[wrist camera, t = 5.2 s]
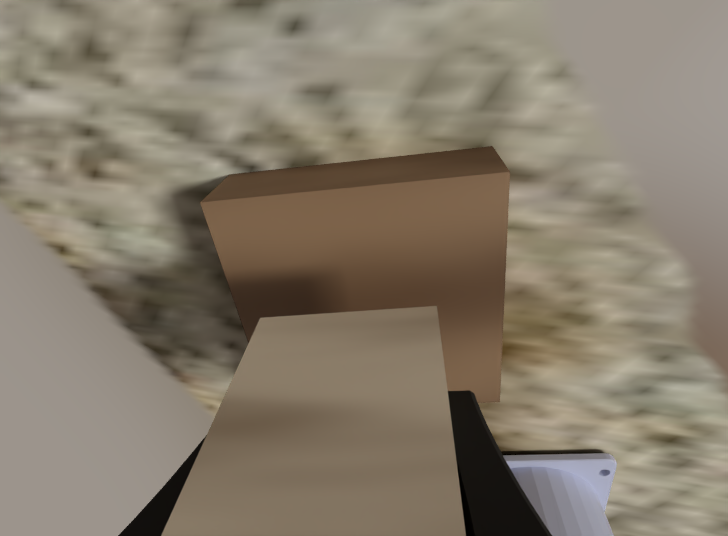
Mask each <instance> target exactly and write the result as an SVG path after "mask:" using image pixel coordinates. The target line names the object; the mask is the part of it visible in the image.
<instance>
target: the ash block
mask: <svg viewBox="0 0 728 536" xmlns="http://www.w3.org/2000/svg"><path fill="white" fill-rule="evenodd" d="M161 536H466V532H465V525H464V517H463V509H462V501H461V493H460V485H459V477H458V469H457V461H456V453H455V445H454V438H453V430H452V422H451V414H450V406H449V398H448V390H447V382H446V374H445V366H444V359H443V351H442V343H441V335H440V327H439V319H438V311H437V306H427V307H413V308H398V309H383V310H368V311H353V312H339V313H324V314H309V315H294V316H280V317H265V318H260V319H259V322H258V324H257V326H256V328H255V330H254V333H253V335H252V337H251V339H250V341H249V344H248V346H247V348H246V350H245V352H244V355H243V357H242V359H241V361H240V363H239V366H238V368H237V370H236V372H235V374H234V377H233V379H232V381H231V383H230V385H229V388H228V390H227V392H226V394H225V396H224V399H223V401H222V403H221V405H220V407H219V410H218V412H217V414H216V416H215V418H214V421H213V423H212V425H211V427H210V429H209V432H208V434H207V436H206V438H205V440H204V443H203V445H202V447H201V449H200V451H199V454H198V456H197V458H196V460H195V462H194V465H193V467H192V469H191V471H190V473H189V476H188V478H187V480H186V482H185V484H184V487H183V489H182V491H181V493H180V495H179V498H178V500H177V502H176V504H175V506H174V509H173V511H172V513H171V515H170V517H169V520H168V522H167V524H166V526H165V528H164V531H163V533H162V535H161Z"/></svg>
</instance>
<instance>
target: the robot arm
mask: <svg viewBox="0 0 728 536" xmlns="http://www.w3.org/2000/svg"><path fill="white" fill-rule="evenodd" d="M448 398H449V406H450V414H451V422H452V430H453V438H454V445H455V453H456V461H457V469H458V477H459V485H460V493H461V501H462V509H463V517H464V525H465V532H466V536H614V535H613V532H612V530H611V527H610V525H609V523H608V520H607V518H606V515H605V513H604V512H605V508H606V505H607V501H608V497H609V493H610V489H611V485H612V482H613V478H614V474H615V470H616V466H617V463H616V461H615V459H614V457H613V456H612V455H610V454H607V453H589V454H542V455H502V453H501V451H500V449H499V448H498V446H497V444H496V442H495V440H494V438H493V436H492V434H491V432H490V430H489V428H488V426H487V424H486V421H485V419H484V417H483V415H482V412H481V410H480V407H479V405H478V402H477V400H476V397H475V394H474V393H473V392H471V391H470V390H465V391H448ZM206 436H207V435H206ZM205 438H206V437H205ZM205 438H204V439H203V440H202V441H201V443H200V444H199V445H198V446H197V448H196V449H195V450H194V451H193V452H192V454H191V455H190V456H189V457H188V458H187V460H186V461H185V462H184V463H183V464H182V465H181V467H180V468H179V469H178V470H177V472H176V473H175V474H174V475H173V476H172V477H171V479H170V480H169V481H168V482H167V483H166V484H165V486H164V487H163V488H162V489H161V490H160V491H159V492H158V493H157V494H156V496H155V497H154V498H153V499H152V500H151V501H150V502H149V503H148V504H147V506H146V507H145V508H144V509H143V510H142V511H141V512H140V513H139V514H138V515H137V517H136V518H135V519H134V520H133V521H132V522H131V523H130V524H129V525H128V526H127V527H126V528H125V529H124V530H123V531H122V532H121V534H120V535H118V536H161V535H162V533H163V531H164V528H165V526H166V524H167V522H168V520H169V517H170V515H171V513H172V511H173V509H174V506H175V504H176V502H177V500H178V498H179V495H180V493H181V491H182V489H183V487H184V484H185V482H186V480H187V478H188V476H189V473H190V471H191V469H192V467H193V465H194V462H195V460H196V458H197V456H198V454H199V451H200V449H201V447H202V445H203V443H204V440H205Z"/></svg>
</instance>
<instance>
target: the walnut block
mask: <svg viewBox="0 0 728 536" xmlns="http://www.w3.org/2000/svg"><path fill="white" fill-rule="evenodd" d="M509 181H510V171H509V170H508V168H507V167H506V165H505V164H504V162H503V161H502V160H501V158H500V157H499V155H498V154H497V152H496V151H495V149H494V148H493V146H490V147H481V148H472V149H462V150H453V151H444V152H434V153H425V154H416V155H407V156H397V157H388V158H379V159H369V160H360V161H351V162H341V163H332V164H323V165H314V166H304V167H295V168H286V169H276V170H267V171H258V172H249V173H239V174H230V175H229V176H228V177H226V178H225V179H224V180H223V181H222V182H221V183H220V184H219V185H218V186H217V187H216V188H215V189H214V190H213V191H212V192H211V193H209V194H208V195H207V196H206V197H205V198H204V199H203V200H202V201H201V202H200V204H201V207H202V210H203V213H204V215H205V218H206V221H207V224H208V227H209V230H210V233H211V236H212V239H213V242H214V244H215V247H216V250H217V253H218V256H219V259H220V262H221V265H222V268H223V270H224V273H225V276H226V279H227V282H228V285H229V288H230V291H231V294H232V297H233V299H234V302H235V305H236V308H237V311H238V314H239V317H240V320H241V323H242V325H243V328H244V331H245V334H246V337H247V340H248V343H249V341H250V339H251V337H252V335H253V333H254V330H255V328H256V326H257V324H258V322H259V319H260V318H265V317H280V316H294V315H309V314H324V313H339V312H353V311H368V310H383V309H398V308H413V307H427V306H437V311H438V319H439V327H440V335H441V343H442V351H443V359H444V366H445V374H446V382H447V390H448V391H465V390H470V391H471V392H473V393H474V394H475V397H476V400H477V402H478V403H486V402H500V384H501V361H502V339H503V316H504V293H505V271H506V248H507V226H508V203H509Z"/></svg>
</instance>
